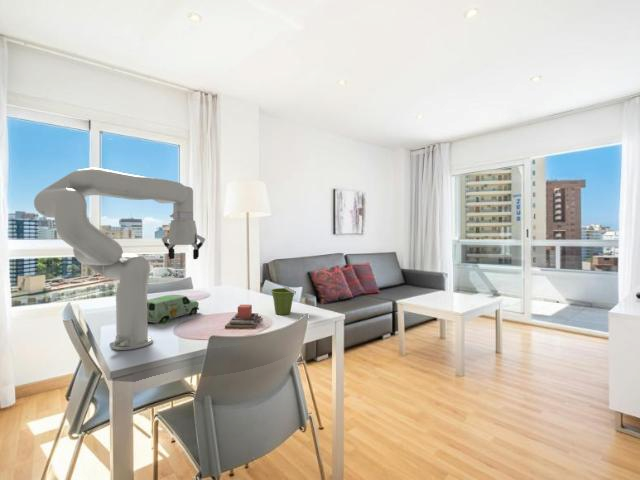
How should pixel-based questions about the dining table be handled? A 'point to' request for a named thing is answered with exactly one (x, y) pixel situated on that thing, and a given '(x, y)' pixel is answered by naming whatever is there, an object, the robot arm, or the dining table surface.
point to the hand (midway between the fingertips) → (183, 258)
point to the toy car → (169, 308)
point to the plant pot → (282, 300)
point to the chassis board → (243, 322)
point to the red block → (245, 311)
